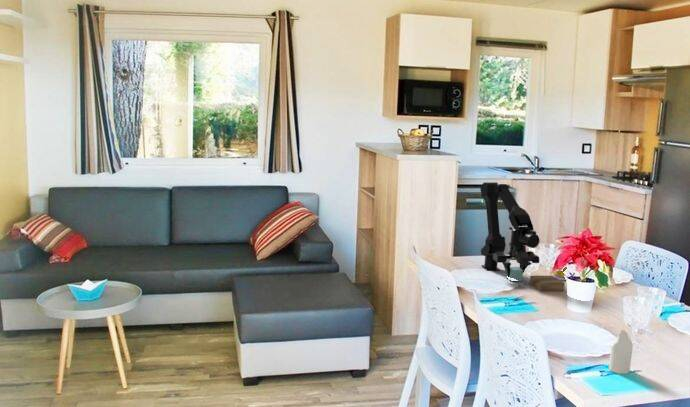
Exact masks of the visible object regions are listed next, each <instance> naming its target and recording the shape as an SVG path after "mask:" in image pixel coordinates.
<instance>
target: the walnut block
mask: <svg viewBox="0 0 690 407" xmlns="http://www.w3.org/2000/svg"><path fill="white" fill-rule="evenodd" d="M565 284H566V283H565V281H564V280H559V279H557V278H556V277H554V276H553V275H530V277H529V285H530V286H532V287H533V288H535V289H537V290H538V291H540V292H543V293H544V292H545V293H547V292H551V293H552V292H557V293H558V292H565Z"/></svg>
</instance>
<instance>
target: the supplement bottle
mask: <svg viewBox="0 0 690 407" xmlns="http://www.w3.org/2000/svg"><path fill="white" fill-rule="evenodd" d="M566 269H567V267H565V268H564V269H563V271H555V272H554V271H553V275H552V276H554V277H556V278H557V279H559V280H561V281H566V280H565V277H564V273H563V272H564V271H565V270H566Z"/></svg>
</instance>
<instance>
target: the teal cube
mask: <svg viewBox="0 0 690 407" xmlns="http://www.w3.org/2000/svg"><path fill="white" fill-rule="evenodd" d="M519 267H520V266H510V275H509V277H510V278H514V279H516V280H518V281H519V283H522V282H523V274H524V273H523V270H522V269H520V268H519ZM505 274H506V273H505ZM506 275H507V274H506ZM506 275H505V276H506Z"/></svg>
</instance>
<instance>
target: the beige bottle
mask: <svg viewBox="0 0 690 407" xmlns="http://www.w3.org/2000/svg"><path fill="white" fill-rule="evenodd" d="M617 335H618V336H616V338H615V340H614V341H613V342H612V343H611V346H610V354H609V363H608V370H609V371H610V372H613V373H615V374H619V375H626V374H629V373H630V371H631V370H630V369H631V363H632V356H633V347H634V346H633V342H632V340H631V338H630V337H629V334H628V331H626V330H624V329H621V330H620V331H619V333H618V334H617Z"/></svg>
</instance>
